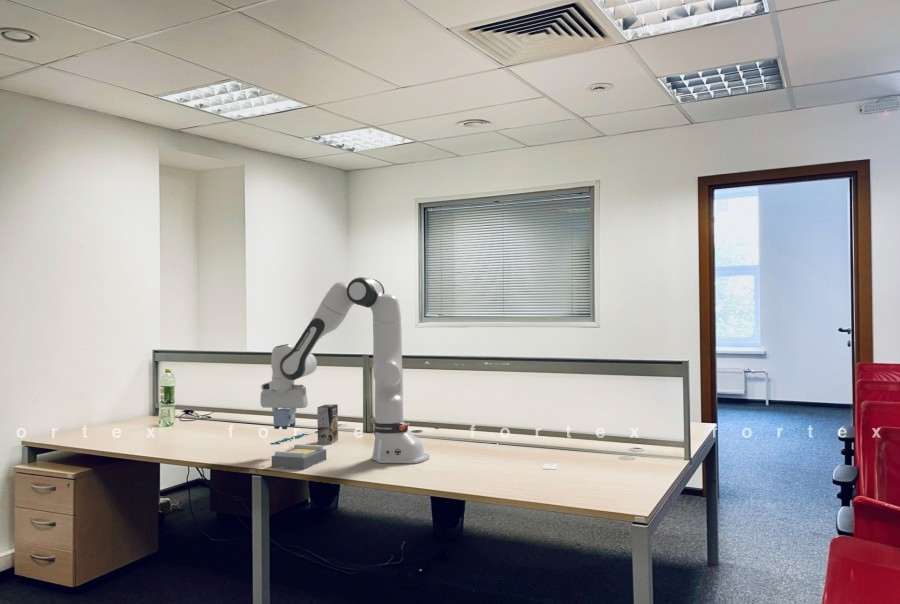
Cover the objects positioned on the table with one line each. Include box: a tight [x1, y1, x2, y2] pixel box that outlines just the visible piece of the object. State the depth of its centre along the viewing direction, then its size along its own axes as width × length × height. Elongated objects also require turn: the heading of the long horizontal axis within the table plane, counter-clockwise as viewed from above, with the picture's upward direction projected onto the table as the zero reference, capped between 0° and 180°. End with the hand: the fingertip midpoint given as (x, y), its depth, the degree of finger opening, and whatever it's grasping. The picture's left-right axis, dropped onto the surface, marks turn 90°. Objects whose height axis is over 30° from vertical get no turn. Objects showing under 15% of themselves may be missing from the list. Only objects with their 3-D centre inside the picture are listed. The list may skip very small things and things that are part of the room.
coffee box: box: [316, 404, 339, 445], centre depth 294 cm, size 9×6×16 cm
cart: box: [272, 408, 297, 430], centre depth 269 cm, size 5×8×8 cm, turn 160°
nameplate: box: [270, 431, 309, 445], centre depth 308 cm, size 37×1×5 cm
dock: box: [271, 443, 327, 470], centre depth 254 cm, size 14×16×6 cm
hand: (284, 418), depth 269 cm, fingers closed on cart, 5 cm apart
